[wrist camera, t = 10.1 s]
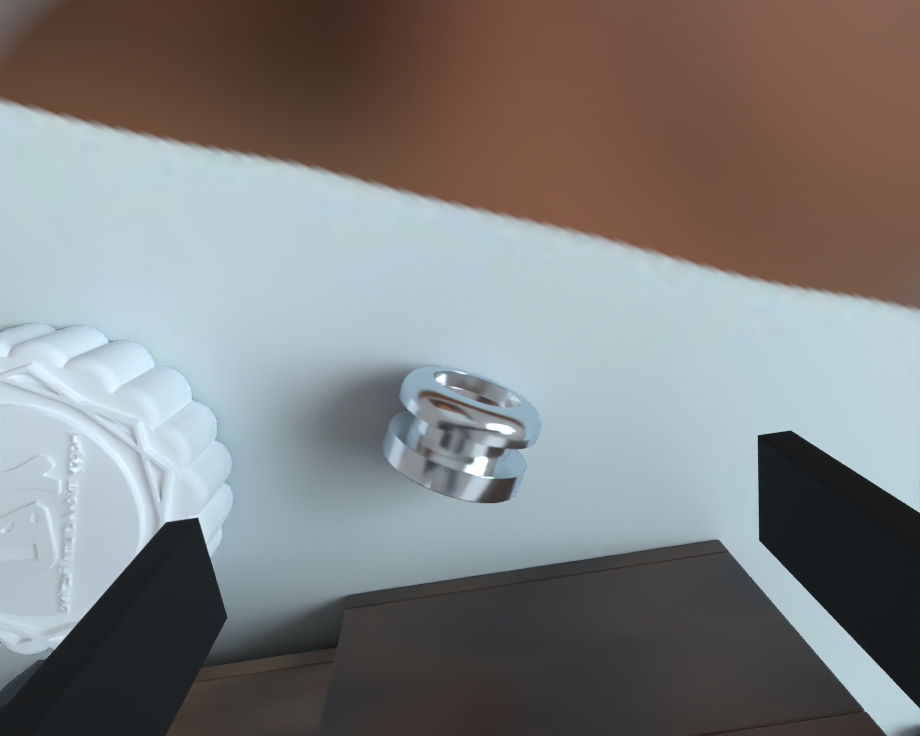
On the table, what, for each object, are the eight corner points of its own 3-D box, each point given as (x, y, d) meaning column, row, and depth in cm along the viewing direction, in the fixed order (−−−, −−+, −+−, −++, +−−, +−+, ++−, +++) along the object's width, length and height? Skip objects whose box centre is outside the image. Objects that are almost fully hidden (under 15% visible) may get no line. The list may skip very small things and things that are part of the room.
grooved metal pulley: (387, 420, 23) (375, 475, 18) (410, 349, 23) (403, 388, 18) (508, 456, 24) (527, 519, 19) (534, 388, 23) (560, 435, 18)
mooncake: (-85, 289, 21) (-186, 305, 18) (255, 357, 22) (222, 384, 19) (-83, 579, 24) (-170, 641, 21) (218, 626, 25) (183, 693, 22)
